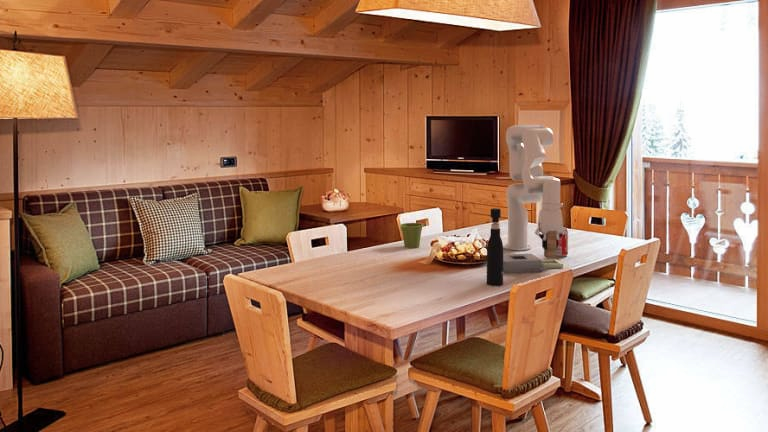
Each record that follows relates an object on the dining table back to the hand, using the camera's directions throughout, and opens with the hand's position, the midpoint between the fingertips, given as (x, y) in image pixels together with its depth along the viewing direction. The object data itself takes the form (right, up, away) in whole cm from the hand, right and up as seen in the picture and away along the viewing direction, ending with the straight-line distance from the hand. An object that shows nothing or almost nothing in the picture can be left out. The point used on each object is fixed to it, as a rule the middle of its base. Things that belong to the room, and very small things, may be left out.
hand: (550, 248), depth 327 cm
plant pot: (-58, -2, +47) cm, 75 cm away
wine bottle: (-28, -13, -29) cm, 43 cm away
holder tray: (0, -8, +1) cm, 8 cm away
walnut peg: (0, -4, 0) cm, 4 cm away
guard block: (-14, -9, -3) cm, 17 cm away
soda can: (+9, -5, +22) cm, 25 cm away
